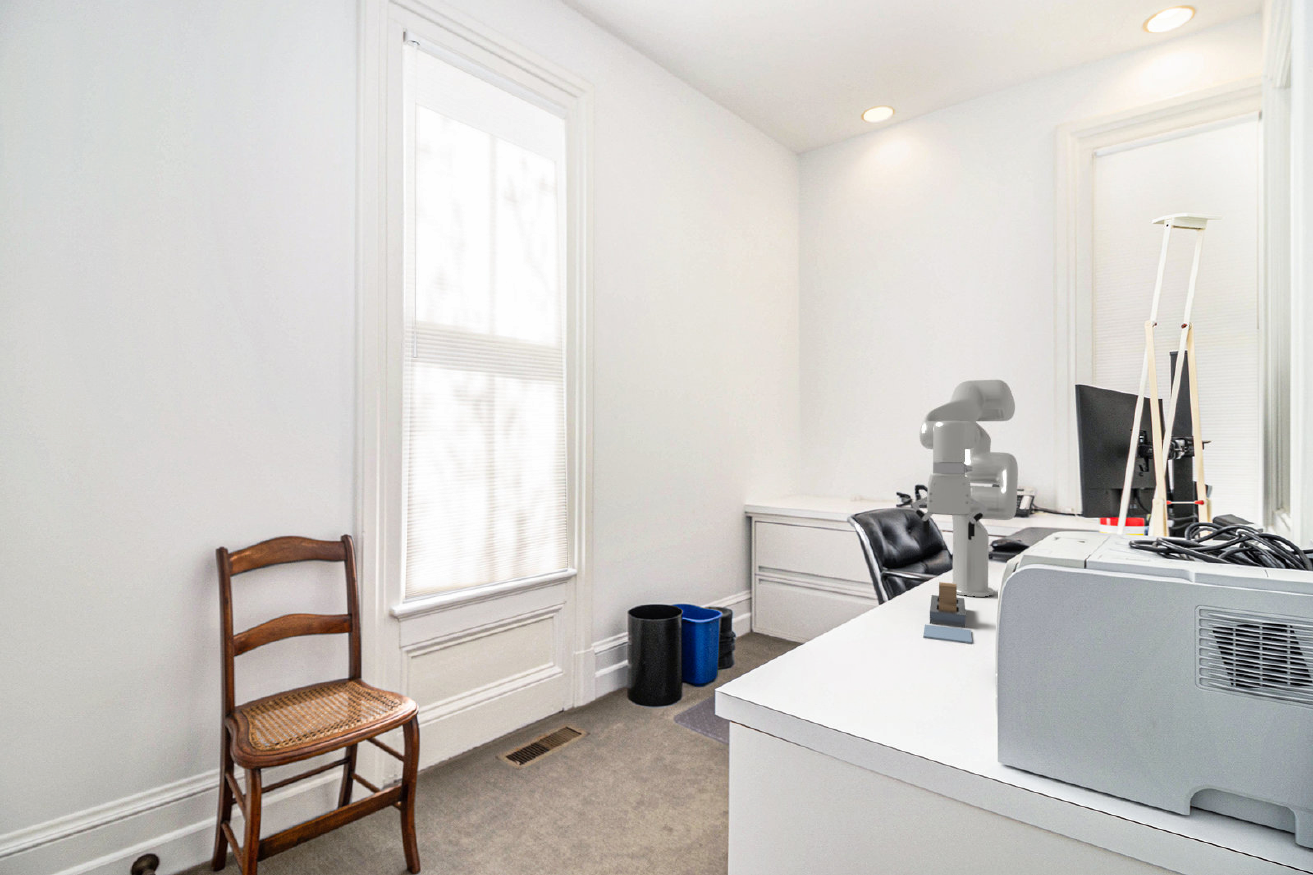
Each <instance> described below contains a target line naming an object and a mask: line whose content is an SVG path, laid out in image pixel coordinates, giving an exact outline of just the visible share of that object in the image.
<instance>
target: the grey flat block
mask: <svg viewBox="0 0 1313 875" xmlns="http://www.w3.org/2000/svg"><path fill="white" fill-rule="evenodd" d="M965 604H966V603H965V598H963V597H957V609H956V612H955V611H946V610H939V595H936V594H935V595H933V594H932V595H931V600H930V606H929V607H930V608H929V624H931V623H932V624H931V625H939V624H940V625H939V626H947V627H956V628H965V627H967V626H966V623H967V622H966V620H967V619H966V617H967V614H966V613H967V612H966V605H965Z"/></svg>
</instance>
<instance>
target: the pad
mask: <svg viewBox="0 0 1313 875" xmlns="http://www.w3.org/2000/svg"><path fill="white" fill-rule="evenodd" d="M923 628H924V629H923V637H922V638H923V639H930V640H931V639H932V640H939V641H945V642H946V641H947V642H953V643H954V642H955V643H963V644H971V645H972V644H973V640H972V631H971V629H968V628H960V627H952V626H943V625H935V624H924V627H923Z"/></svg>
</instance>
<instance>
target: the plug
mask: <svg viewBox="0 0 1313 875" xmlns="http://www.w3.org/2000/svg"><path fill="white" fill-rule="evenodd" d="M938 596H939V610H946V611H955V612H956V609H957V598H958V594H957V584H954V583H953V582H942V581H939V582H938Z"/></svg>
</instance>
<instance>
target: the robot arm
mask: <svg viewBox="0 0 1313 875" xmlns="http://www.w3.org/2000/svg"><path fill="white" fill-rule="evenodd" d="M1015 403H1016V402H1015V398H1014V396H1013V394H1012V391H1011V388H1010V386H1009V385H1008V383H1007V382H1006V381H1004V380H1001V379H981V380H979V379H978V380H977V379H976V380H966V381H962V382H961V383H959V384H958V385H957V386H956V387H955V389H954V390H953V393H952V396H951V398H950V400H949V402H947V403H945V404H942V405H940V406H938V407H936V408H934V409H932V410H930V411H929V412H928V413H927V414H926V415H925V417H924V419H923V421H922V423H921V426H920V430H919V441H920V443H921V446H923V448H925V449H928V450H933V452H932V474H929V478H928V483H927V493H926V496H925V497H923V498H921V499H918V500H915V501H913V502H911V506H912V508H913V510H914V512H915V514H916V515H917V516H918V517H919V518H920V519H921V521H923V523H922V524H923V527H922V529H923V530H922V531H923V532H922V533H923V534H925V537H926V538H929V537H930V533H931V532H930V528H931V527H930V524H931V522H930V517H932V516H933V515H943V516H951V517H952V583H954V584H957V595H959V596H964V595H967V596H966V597H973V596H975V598H978V597H979V598H984V597H985V596H988V597H990V596H989V595H992V596H994V594H995V590H994V589H993V588H991V587H989V538H990V537H989V533H988V530H987V529H986V527H985V525H983V524H982V522H981V521H980V520H993V521H994V520H996V521H1009V520H1012V519H1013V518H1014V517H1015V516H1016V513H1017V507H1018V505H1017V503H1018V484H1019V483H1018V480H1019V479H1018V478H1019V466H1018V462H1017V459H1016V457H1015V456H1014V455H1013V454H1011V453H1009V452H1000V451H999V452H997V451H995V452H993V451H992V452H991V445H992V444H991V443H992V439H991V438H992V437H991V436H990V434H988V432H987V431H986V429H985V428H983V426H981V425H980V424H979V423H977V422H1007V421H1009V420H1011V419H1012V418H1013V417H1014V415H1015V411H1016V404H1015ZM971 484H982V485H971ZM985 484H986V485H997V486H984V485H985ZM923 504H926V510H927V512H925V513H924V512H923V511H922V510H921V508H920V506H921V505H923ZM985 598H986V597H985Z"/></svg>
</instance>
